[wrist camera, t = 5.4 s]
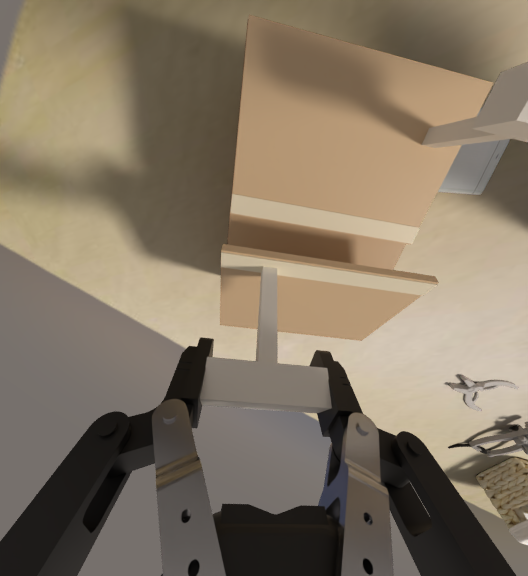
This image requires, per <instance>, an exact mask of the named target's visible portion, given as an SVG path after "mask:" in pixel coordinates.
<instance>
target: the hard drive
mask: <svg viewBox="0 0 528 576" xmlns="http://www.w3.org/2000/svg"><path fill="white" fill-rule="evenodd" d="M482 108H483V107H481V109H480V111H479V113H478V114H477V116H476V117H478V115H479V114H480V112H481V110H482ZM509 141H510V139H507V140H498V141H490V142H481V143H473V144H465V145H462V146H461V148H460V150H459V152H458V153H457V155H456V157H455V159H454V161H453V163H452V165H451V167H450V169H449V171H448V173H447V175H446V177H445V179H444V181H443V183H442V185H441V187H440V189H439V191H438V192H446V193H459V194H472V195H480V194H481V193H482V192H483V191H484V189H485V187H486V185H487V183H488V181H489V179H490V178H491V176H492V174H493V172H494V170H495V168H496V166H497V164H498V162H499V160H500V158H501V156H502V154H503V152H504V151H505V149H506V147H507V145H508V143H509Z"/></svg>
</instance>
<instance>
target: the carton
mask: <svg viewBox="0 0 528 576" xmlns="http://www.w3.org/2000/svg"><path fill="white" fill-rule="evenodd" d="M492 85H493V82H489V81H485V80H482V79H478V78H475V77H471V76H468V75H464V74H460V73H457V72H453V71H450V70H446V69H442V68H439V67H435V66H432V65H428V64H424V63H421V62H417V61H414V60H410V59H406V58H403V57H399V56H396V55H392V54H389V53H385V52H381V51H378V50H374V49H371V48H367V47H363V46H360V45H356V44H353V43H349V42H345V41H342V40H338V39H335V38H331V37H327V36H324V35H320V34H317V33H313V32H310V31H306V30H302V29H299V28H295V27H292V26H288V25H284V24H281V23H277V22H274V21H270V20H266V19H263V18H259V17H256V16H252V15H249V19H248V23H247V33H246V44H245V55H244V66H243V77H242V88H241V98H240V109H239V120H238V131H237V142H236V153H235V164H234V174H233V185H232V196H231V207H230V218H229V229H228V239H227V245H234V246H240V247H247V248H253V249H260V250H266V251H273V252H279V253H286V254H292V255H299V256H305V257H312V258H318V259H325V260H331V261H338V262H344V263H351V264H357V265H364V266H370V267H377V268H383V269H390V270H393V269H394V267H395V265H396V263H397V261H398V259H399V257H400V255H401V253H402V251H403V249H404V247H405V245H406V244H410V245H411V244H412V243H413V241H414V239H415V237H416V235H417V233H418V231H419V229H420V226H421V224H422V222H423V220H424V218H425V216H426V214H427V212H428V210H429V208H430V206H431V204H432V202H433V200H434V198H435V196H436V194H437V192H438V191H439V189H440V187H441V185H442V183H443V181H444V179H445V177H446V175H447V173H448V171H449V169H450V167H451V165H452V163H453V161H454V159H455V157H456V155H457V153H458V152H459V150H460V148H461V146H462V145H465V144H473V143H481V142H490V141H498V140H507V139H516V140H520V141H524V142H528V62H526V63H523V64H521V65H518V66H516V67H513V68H511V69H508V70H506V71H503V72H501V73H500V75H499V77H498V79H497V81H496V83H495V84H494V86H493V88H492V90H491V92H490V94H489V96H488V98H487V100H486V102H485V104H484V106H483V108H482V110H481V112H480V114H479V115H478V117H476V116H477V114H478V113H479V111H480V109H481V107H482V105H483V103H484V101H485V99H486V97H487V95H488V93H489V91H490V89H491V87H492Z"/></svg>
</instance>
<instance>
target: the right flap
mask: <svg viewBox="0 0 528 576" xmlns="http://www.w3.org/2000/svg"><path fill="white" fill-rule="evenodd" d="M438 283H439V282H438V281H437V279H436V277H435V276H429V275H422V274H416V273H409V272H403V271H396V270H390V269H383V268H377V267H370V266H364V265H357V264H351V263H344V262H338V261H331V260H325V259H318V258H312V257H305V256H299V255H292V254H286V253H279V252H273V251H266V250H260V249H253V248H247V247H240V246H234V245H227V244H223V245H222V249H221V298H220V325H225V326H234V327H243V328H252V329H258V332H257V349H256V361H247V360H236V359H225V358H215V357H207V361H206V366H205V368H206V370H205V375H204V380H203V385H202V390H201V395H200V401H201V404H202V405H203V406H217V407H233V408H248V409H262V410H276V411H292V412H306V413H320V412H323V411H326V410H328V409H331V408H332V404H331V397H330V389H329V382H328V379H329V377H328V370H327V368H322V367H311V366H300V365H290V364H279V363H277V331H279V332H288V333H297V334H306V335H315V336H324V337H333V338H342V339H351V340H360V341H362V340H363V339H364V338H366V337H367V336H368V335H370V334H371V333H372V332H374V331H375V330H376V329H378V328H379V327H380V326H382V325H383V324H384V323H386V322H387V321H388V320H390V319H391V318H392V317H394V316H395V315H396V314H398V313H399V312H400V311H402V310H403V309H404V308H406V307H407V306H408V305H410V304H411V303H412V302H414V301H415V300H416V299H418V298H419V297H420V296H424V295H425V294H426V293H428V292H429V291H430V290H432V289H433V288H434V287H436V286H437V284H438Z"/></svg>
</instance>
